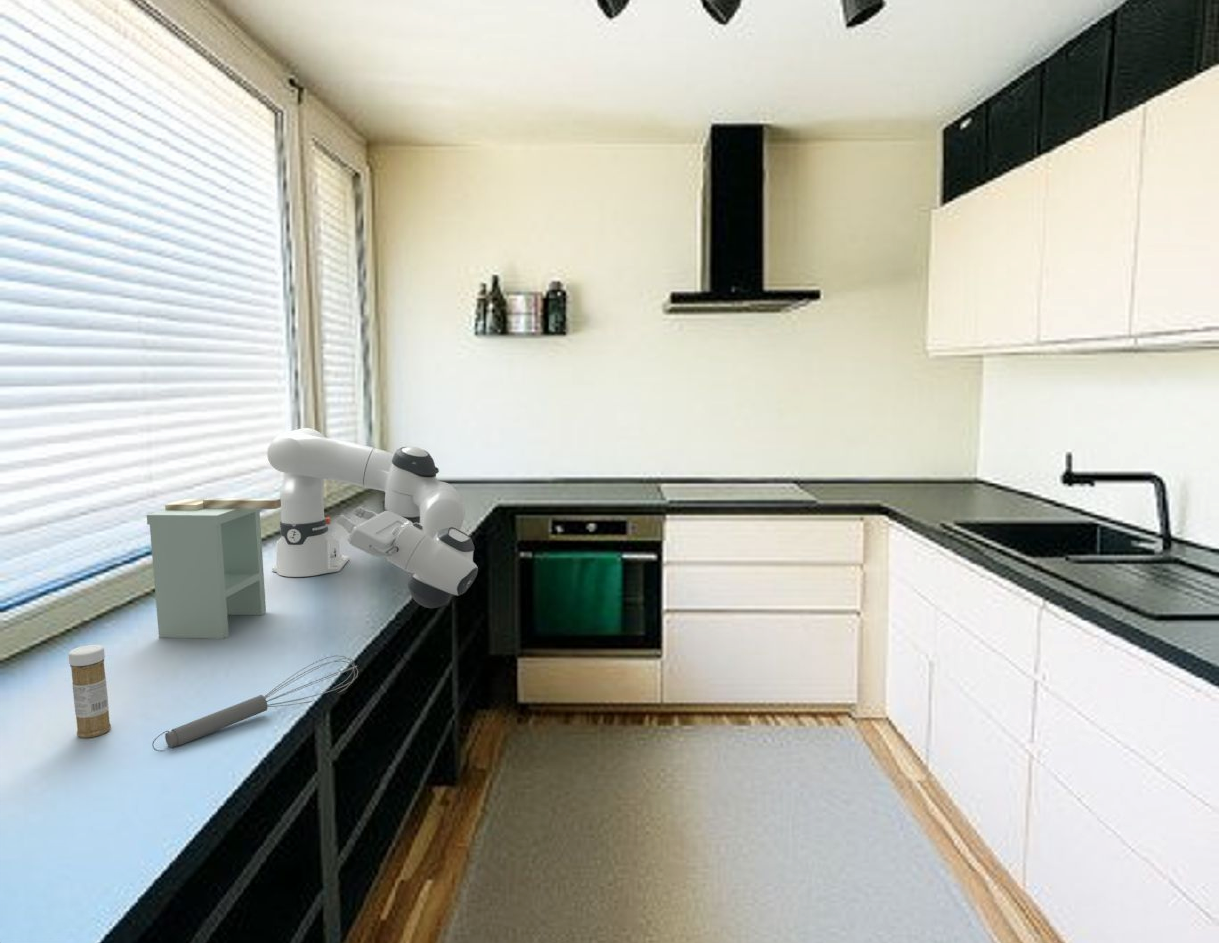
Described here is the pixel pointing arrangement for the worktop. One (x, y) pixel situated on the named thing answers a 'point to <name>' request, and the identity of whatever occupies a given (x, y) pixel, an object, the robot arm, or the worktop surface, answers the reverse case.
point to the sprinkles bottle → (90, 690)
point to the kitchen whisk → (237, 712)
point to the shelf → (206, 569)
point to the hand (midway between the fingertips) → (347, 513)
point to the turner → (224, 504)
